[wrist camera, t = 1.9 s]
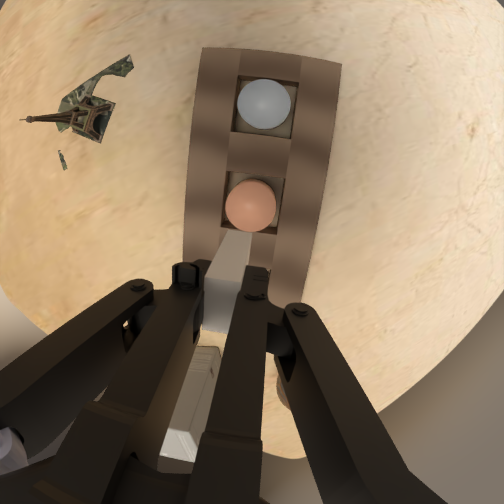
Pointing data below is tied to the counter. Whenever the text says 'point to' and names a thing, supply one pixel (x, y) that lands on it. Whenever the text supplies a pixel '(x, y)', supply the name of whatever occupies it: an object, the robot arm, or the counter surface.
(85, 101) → the eiffel tower figurine
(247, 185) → the button terracotta
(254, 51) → the button board
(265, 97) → the button slate
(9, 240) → the counter surface
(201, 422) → the skincare box
